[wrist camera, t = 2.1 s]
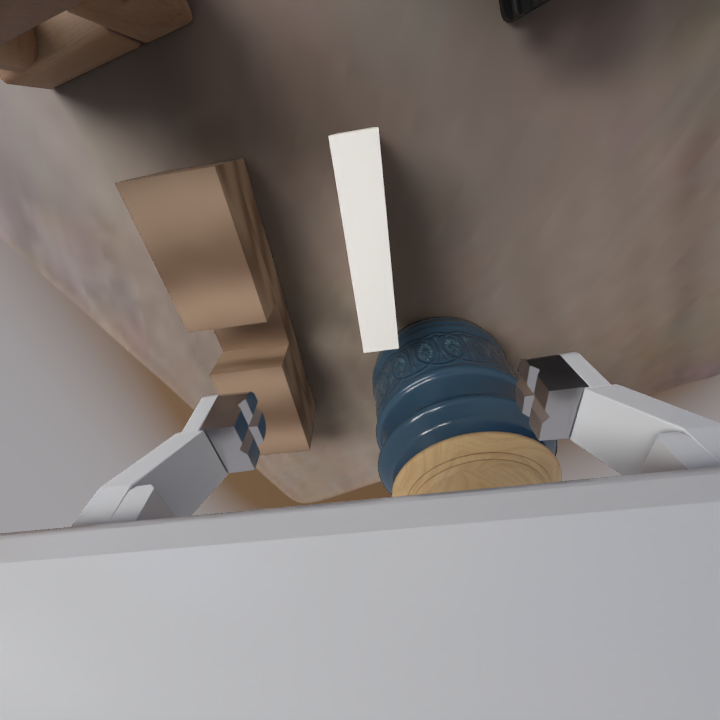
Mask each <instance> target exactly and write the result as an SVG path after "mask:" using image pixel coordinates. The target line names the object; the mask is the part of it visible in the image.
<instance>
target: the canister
mask: <svg viewBox="0 0 720 720" xmlns="http://www.w3.org/2000/svg"><path fill="white" fill-rule="evenodd" d="M397 333H398V344H399V349H391V350H383V351H380V353H379V355H378V358H377V361H376V365H375V368H374V372H373V394H374V398H375V401H376V413H377V426H376V438H377V443H378V446H379V448H380V454H379V458H378V472H379V476H380V479H381V481H382V483H383V485H384V487H385V488H386V490H387V491H388V492H389V493H390V494H391V495H392V497H398V496H409V495H419V494H430V493H441V492H452V491H463V490H474V489H484V488H495V487H506V486H517V485H528V484H539V483H550V482H560V481H561V468H560V464H559V462H558V460H557V458H556V452H557V439H556V440H543V441H539V440H538V439H537V437H536V435H535V434H534V432H533V430H532V429H531V427H530V425H529V419H530V417H528V416H526V415H525V414H523V413H522V412H521V410H520V408H519V406H518V403H517V401H516V393H515V390H516V383H517V382H518V380H519V379H518V378H517V376H516V374H515V373H514V371H513V370H512V368H511V367H510V365H509V364H508V362H507V359H506V356H505V354H504V352H503V350H502V349H501V347H500V346H499V344H498V343H497V342H496V340H495V339H494V338H493V337H492V336H491V335H489V334H488V333H487V332H486V331H484V330H483V329H481V328H480V327H479V326H477V325H475V324H473V323H471V322H469V321H466V320H463V319H459V318H453V317H436V318H429V319H425V320H421V321H418V322H416V323H413V324H411V325H409V326H407V327H405V328H403V329H402V330H400V331H399V332H397Z"/></svg>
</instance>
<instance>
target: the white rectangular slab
mask: <svg viewBox="0 0 720 720" xmlns="http://www.w3.org/2000/svg"><path fill="white" fill-rule="evenodd" d="M328 137H329V143H330V149H331V155H332V161H333V168H334V174H335V180H336V186H337V192H338V198H339V204H340V210H341V216H342V223H343V229H344V235H345V241H346V247H347V253H348V259H349V265H350V272H351V278H352V284H353V290H354V296H355V302H356V308H357V314H358V320H359V327H360V333H361V339H362V345H363V351H364V353H367V352H375V351H383V350H391V349H399V344H398V333H397V322H396V311H395V301H394V290H393V279H392V268H391V258H390V247H389V236H388V225H387V214H386V204H385V193H384V182H383V171H382V160H381V150H380V139H379V128H378V127H371V128H365V129H360V130H354V131H348V132H342V133H336V134H333V135H330V136H328Z"/></svg>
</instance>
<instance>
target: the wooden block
mask: <svg viewBox="0 0 720 720" xmlns="http://www.w3.org/2000/svg"><path fill="white" fill-rule="evenodd" d="M192 19H193V18H192V12H191V10H190V7H189V5H188V3H187V0H0V78H1V79H2V80H3V81H4V82H5V83H7V84H13V85H21V86H29V87H37V88H45V89H53V88H55V87H57V86H59V85H61V84H63V83H65V82H67V81H69V80H71V79H74V78H76V77H78V76H80V75H82V74H84V73H86V72H88V71H90V70H92V69H94V68H97V67H99V66H101V65H103V64H105V63H107V62H109V61H111V60H113V59H115V58H117V57H119V56H122V55H124V54H126V53H128V52H130V51H132V50H134V49H136V48H138V47H139V46H140V45H141V42H145V43H149V42H151V41H153V40H155V39H157V38H159V37H162V36H164V35H166V34H168V33H170V32H172V31H174V30H176V29H178V28H180V27H182V26H184V25H187V24H189V23H190V22H191V21H192Z"/></svg>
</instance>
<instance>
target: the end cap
mask: <svg viewBox="0 0 720 720" xmlns="http://www.w3.org/2000/svg"><path fill="white" fill-rule="evenodd" d="M548 1H550V0H499V4H500V10H501V15H502V17H503V20H504V21H506V22H513V21H515V20H516V19H518V18H520V17H522V16H523V15H525V14H527V13H529V12H530V11H532V10H534V9H536V8H538V7H539V6H541V5H543V4H545V3H546V2H548Z"/></svg>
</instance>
